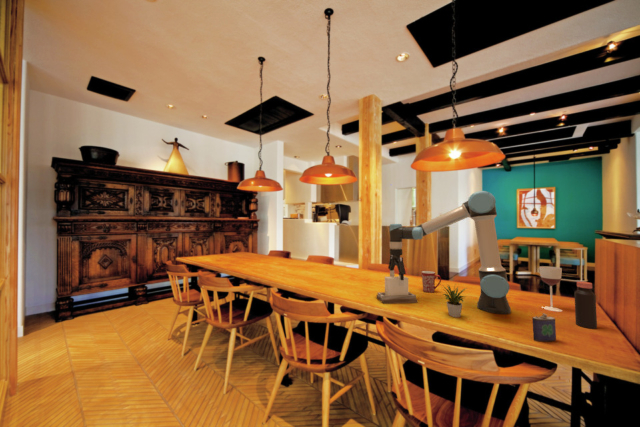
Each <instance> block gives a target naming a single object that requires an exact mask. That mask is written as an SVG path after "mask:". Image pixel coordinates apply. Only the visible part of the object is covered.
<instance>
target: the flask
mask: <svg viewBox="0 0 640 427" xmlns="http://www.w3.org/2000/svg"><path fill="white" fill-rule="evenodd" d="M541 314H542V315H541V316H540V315H539V316H537V315H535V316H533V317H532V318H531V319H532V333H533V341H535V342H538V343H550V342H556V341H557V332H556V318H555V317H553V316H548V315H547V314H546V313H543V312H542V313H541Z"/></svg>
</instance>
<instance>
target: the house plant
mask: <svg viewBox="0 0 640 427" xmlns="http://www.w3.org/2000/svg"><path fill="white" fill-rule="evenodd" d="M456 284H457V283H455V284H454V287H453V290H452V289H451V286H450V285H449V284H447V285H446V287H447V288H446V287H444V285H442V284H441V283H440V284H439V286H440V285H441V286H442V287H441V289H442V290H443V291H444V292H445V293H443V294H442V296H444V298H445V300H448V301H446V307H447V312H448V315H449V316H450V317H452V318H461V313H462V308H463V304H462V303H464V298H465V297H467V296H464V295H461V294H462V293H463V292H464V291H465V290H466V289H468V287H466V288H463V289H462V290H460V292H459V286H457V287H456ZM455 287H456V288H455ZM460 301H461V302H460Z"/></svg>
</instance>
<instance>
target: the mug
mask: <svg viewBox="0 0 640 427" xmlns="http://www.w3.org/2000/svg"><path fill="white" fill-rule="evenodd" d="M437 277H438V278H439V282H438V283H437V284H436V283H435V280H436V279H437ZM441 277H442V276H440V275H439V274H436V272H435V271H432V270H431V271H429V270H423V271H421V279H422V291H423V292H424V293H430V294H431V293H435V290H436V288H438V287H439V286H440V284H441V282H442V278H441ZM435 285H436V286H435Z"/></svg>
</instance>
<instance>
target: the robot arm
mask: <svg viewBox="0 0 640 427" xmlns="http://www.w3.org/2000/svg"><path fill="white" fill-rule="evenodd" d="M496 203H497V202H496V197H495V196H494V194H493V193H491V192H489V191H486V190H477V191H475V192H473V193H472V194H471V195H470V196H469V197H468V200H467V201H464V202H463V203H462V204H461V205H460V206H458V207H456V208H454V209H451V210H450V211H447V212H445V213H443V214H441V215H439V216H436V217H435V218H432V219H430V220H428V221H426V222H422V223H421V224H419V225H417V226H403V225H402V223H391V224H389V230H388V231H389V232H388V233H389V235H388V236H389V262H388V268H387V269H388V270H389V277H395V268H396V267H397V270H398V277H399V286H404V275H406V274H407V273H406V269H405V264H404V257H401V256H402V255H403V240H423V237H425V236H427V235H430V234H432V233H434V232H437V231H439V230H442V229H444V228H446V227H449V226H450V225H453V224H455V223H457V222H460V221H462V220H463V221H464V220H465V219H468V218H470V219H471V220H473V221H474V227H475V232H476V240H477V246H478V253H479V260H480V267H479V268H478V275H479V282H480V283H479V286H480V295H479V297H478V300H477V303H476V305H477V309H479V310H481V311H484V312H487V313H491V314H498V315H509V314H511V312H512V311H511V306H510V303H509V301H508V299H507V294H508V293H509V291H510V284H509V282H508V277H507V276H508V275H507V270H506V268H504V267H503V266H502V263H501V256H500V249H499V242H498V236H497V231H496V223H495V218H496V217H497V206H496Z"/></svg>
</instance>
